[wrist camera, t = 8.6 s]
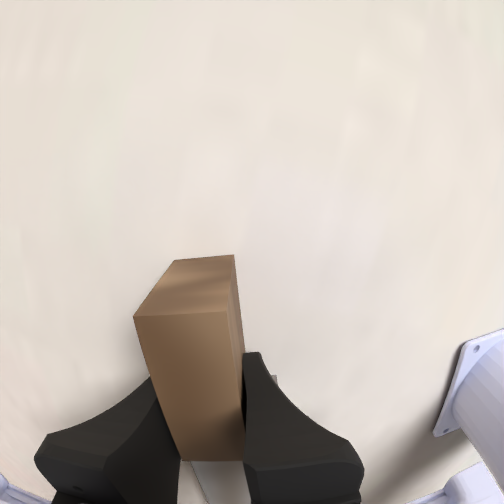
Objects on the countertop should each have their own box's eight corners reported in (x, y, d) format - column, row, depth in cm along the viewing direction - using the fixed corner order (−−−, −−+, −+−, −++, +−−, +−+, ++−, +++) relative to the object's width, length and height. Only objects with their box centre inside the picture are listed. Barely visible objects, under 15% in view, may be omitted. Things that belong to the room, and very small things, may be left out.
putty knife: (267, 251, 12) (281, 305, 7) (284, 514, 18) (288, 562, 13) (144, 262, 12) (90, 317, 7) (223, 517, 18) (221, 564, 13)
